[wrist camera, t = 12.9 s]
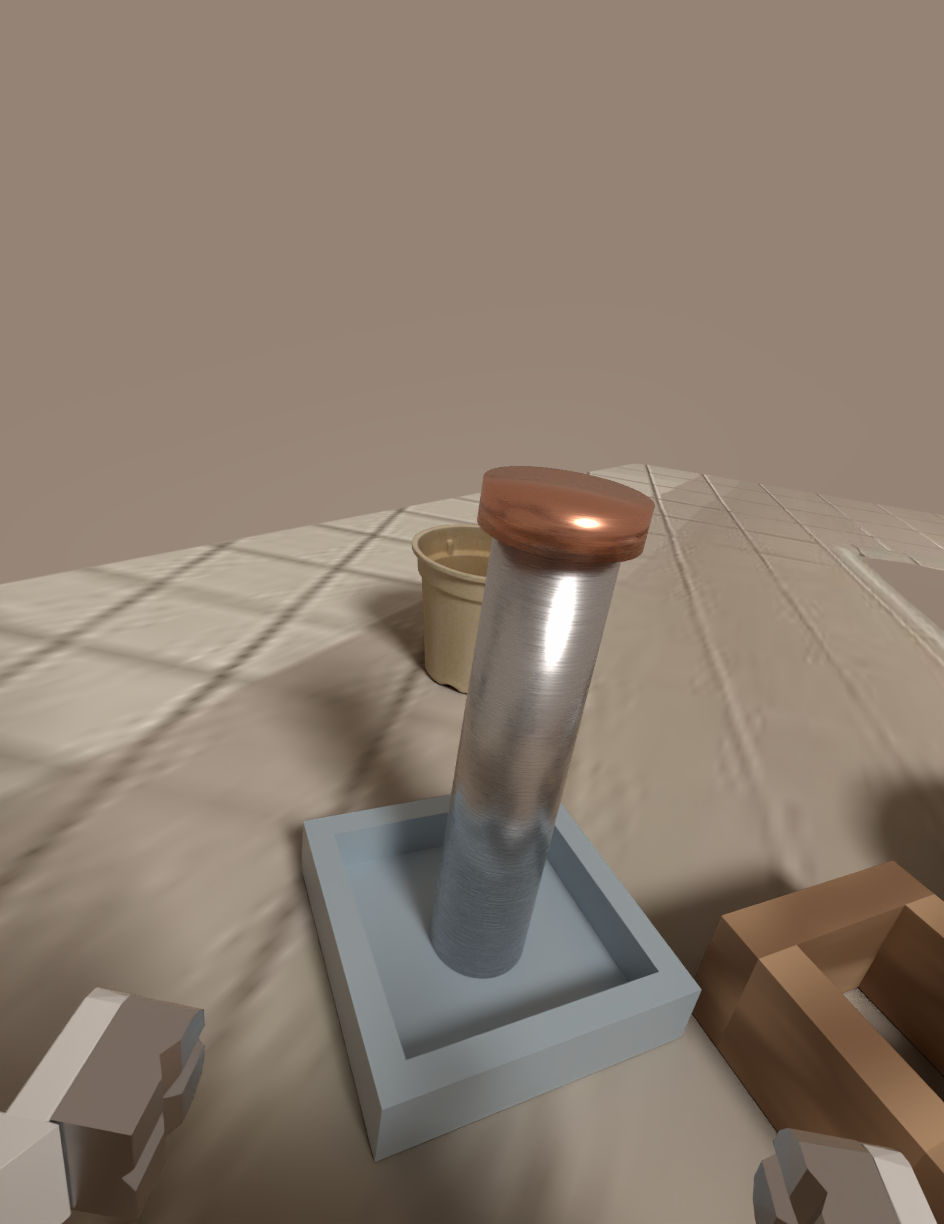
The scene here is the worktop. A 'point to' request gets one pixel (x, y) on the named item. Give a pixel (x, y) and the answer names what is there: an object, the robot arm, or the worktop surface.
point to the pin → (526, 698)
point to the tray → (469, 1007)
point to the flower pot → (452, 597)
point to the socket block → (836, 1011)
